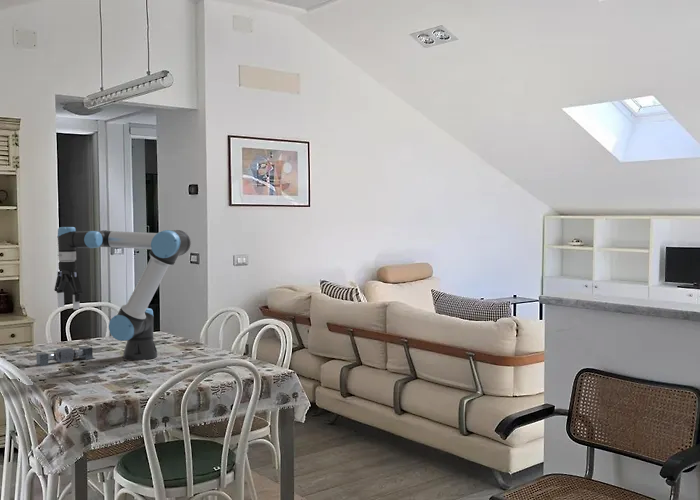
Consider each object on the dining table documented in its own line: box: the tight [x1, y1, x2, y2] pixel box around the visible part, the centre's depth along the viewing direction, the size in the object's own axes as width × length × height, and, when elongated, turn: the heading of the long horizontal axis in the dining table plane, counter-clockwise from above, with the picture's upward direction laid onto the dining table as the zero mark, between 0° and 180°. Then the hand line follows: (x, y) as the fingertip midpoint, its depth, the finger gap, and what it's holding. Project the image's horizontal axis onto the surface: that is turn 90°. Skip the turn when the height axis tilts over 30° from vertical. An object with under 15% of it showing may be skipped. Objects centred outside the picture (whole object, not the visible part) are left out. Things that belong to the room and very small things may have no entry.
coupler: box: [56, 346, 74, 364], centre depth 322 cm, size 6×4×6 cm
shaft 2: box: [73, 346, 94, 360], centre depth 328 cm, size 8×5×5 cm, turn 146°
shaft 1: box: [35, 351, 58, 367], centre depth 316 cm, size 8×5×5 cm, turn 130°
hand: (68, 308), depth 325 cm, fingers open, 13 cm apart
